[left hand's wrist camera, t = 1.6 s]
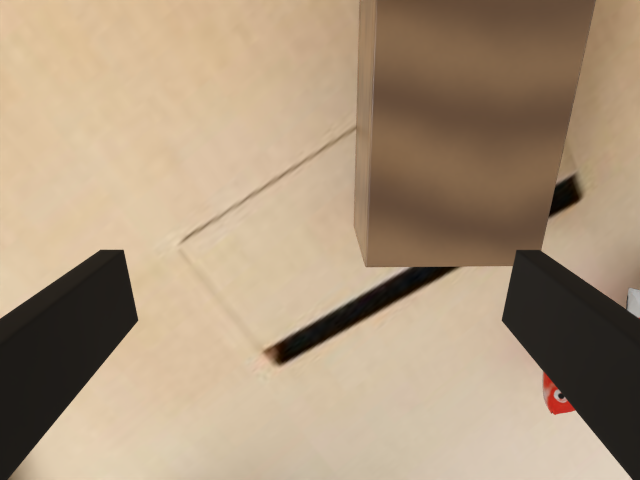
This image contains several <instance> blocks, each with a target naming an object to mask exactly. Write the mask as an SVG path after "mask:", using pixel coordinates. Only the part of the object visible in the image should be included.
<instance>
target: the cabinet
mask: <svg viewBox="0 0 640 480" xmlns="http://www.w3.org/2000/svg"><path fill="white" fill-rule="evenodd" d="M595 1H596V0H360V6H359V45H358V84H357V123H356V162H355V201H354V228H355V232H356V236H357V239H358V243H359V246H360V250H361V253H362V257H363V260H364V263H365V267H443V266H513V264H514V259H515V254H516V250H540V251H541V248H542V244H543V239H544V235H545V230H546V225H547V221H548V216H549V212H550V207H551V203H552V198H553V193H554V189H555V184H556V180H557V175H558V171H559V166H560V161H561V157H562V152H563V148H564V143H565V139H566V134H567V129H568V125H569V120H570V116H571V111H572V107H573V102H574V97H575V93H576V88H577V84H578V79H579V75H580V70H581V65H582V61H583V56H584V52H585V47H586V43H587V38H588V33H589V29H590V24H591V20H592V15H593V11H594V6H595Z"/></svg>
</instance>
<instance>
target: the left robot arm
mask: <svg viewBox="0 0 640 480" xmlns="http://www.w3.org/2000/svg"><path fill="white" fill-rule="evenodd" d="M137 321H138V317H137V312H136V307H135V302H134V298H133V293H132V288H131V283H130V278H129V273H128V269H127V264H126V259H125V254H124V250H100V251H98V252H97V253H95V254H94V255H92V256H91V257H90V258H88V259H87V260H85V261H84V262H82V263H81V264H79V265H78V266H76V267H75V268H74V269H72V270H71V271H69V272H68V273H66V274H65V275H63V276H62V277H60V278H59V279H57V280H56V281H55V282H53V283H52V284H50V285H49V286H47V287H46V288H44V289H43V290H41V291H40V292H39V293H37V294H36V295H34V296H33V297H31V298H30V299H28V300H27V301H25V302H24V303H23V304H21V305H20V306H18V307H17V308H15V309H14V310H12V311H11V312H9V313H8V314H6V315H5V316H4V317H2V318H1V319H0V480H7V479H8V478H9V477H10V476H11V475H12V473H13V472H14V471H15V470H16V468H17V467H18V466H19V465H20V464H21V462H22V461H23V460H24V459H25V458H26V456H27V455H28V454H29V453H30V451H31V450H32V449H33V448H34V447H35V445H36V444H37V443H38V442H39V441H40V439H41V438H42V437H43V436H44V434H45V433H46V432H47V431H48V430H49V428H50V427H51V426H52V425H53V423H54V422H55V421H56V420H57V419H58V417H59V416H60V415H61V414H62V413H63V411H64V410H65V409H66V408H67V406H68V405H69V404H70V403H71V402H72V400H73V399H74V398H75V397H76V396H77V394H78V393H79V392H80V391H81V389H82V388H83V387H84V386H85V385H86V383H87V382H88V381H89V380H90V378H91V377H92V376H93V375H94V374H95V372H96V371H97V370H98V369H99V368H100V366H101V365H102V364H103V363H104V361H105V360H106V359H107V358H108V357H109V355H110V354H111V353H112V352H113V350H114V349H115V348H116V347H117V346H118V344H119V343H120V342H121V341H122V340H123V338H124V337H125V336H126V335H127V333H128V332H129V331H130V330H131V329H132V327H133V326H134V325H135V324H136V323H137ZM502 321H503V323H504V324H505V325H506V326H507V327H508V329H509V330H510V331H511V332H512V333H513V335H514V336H515V337H516V338H517V340H518V341H519V342H520V343H521V344H522V346H523V347H524V348H525V349H526V350H527V352H528V353H529V354H530V355H531V357H532V358H533V359H534V360H535V361H536V363H537V364H538V365H539V366H540V368H541V369H542V370H543V371H544V372H545V374H546V375H547V376H548V377H549V378H550V380H551V381H552V382H553V383H554V385H555V386H556V387H557V388H558V389H559V391H560V392H561V393H562V394H563V396H564V397H565V398H566V399H567V400H568V402H569V403H570V404H571V405H572V406H573V408H574V409H575V410H576V411H577V413H578V414H579V415H580V416H581V417H582V419H583V420H584V421H585V422H586V423H587V425H588V426H589V427H590V428H591V430H592V431H593V432H594V433H595V434H596V436H597V437H598V438H599V439H600V441H601V442H602V443H603V444H604V445H605V447H606V448H607V449H608V450H609V451H610V453H611V454H612V455H613V456H614V458H615V459H616V460H617V461H618V462H619V464H620V465H621V466H622V467H623V468H624V470H625V471H626V472H627V473H628V475H629V476H630V477H631V478H632V479H633V480H640V319H639V318H638V317H636V316H635V315H634V314H632V313H631V312H629V311H628V310H626V309H625V308H623V307H622V306H620V305H619V304H617V303H616V302H615V301H613V300H612V299H610V298H609V297H607V296H606V295H604V294H603V293H601V292H600V291H599V290H597V289H596V288H594V287H593V286H591V285H590V284H588V283H587V282H585V281H584V280H583V279H581V278H580V277H578V276H577V275H575V274H574V273H572V272H571V271H569V270H568V269H566V268H565V267H564V266H562V265H561V264H559V263H558V262H556V261H555V260H553V259H552V258H550V257H549V256H548V255H546V254H545V253H543V252H542V251H540V250H516V254H515V259H514V264H513V269H512V273H511V278H510V283H509V288H508V293H507V298H506V302H505V307H504V312H503V317H502Z"/></svg>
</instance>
